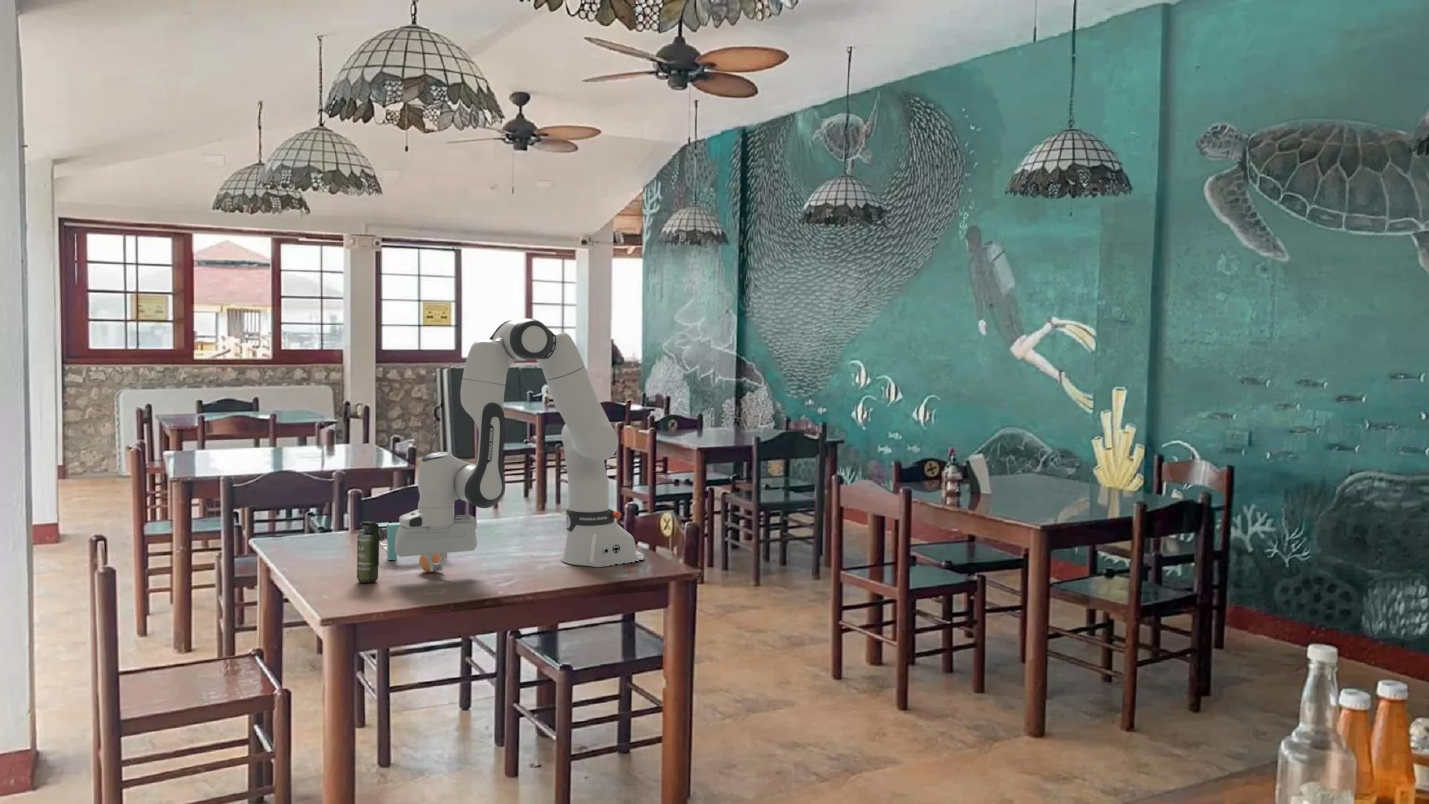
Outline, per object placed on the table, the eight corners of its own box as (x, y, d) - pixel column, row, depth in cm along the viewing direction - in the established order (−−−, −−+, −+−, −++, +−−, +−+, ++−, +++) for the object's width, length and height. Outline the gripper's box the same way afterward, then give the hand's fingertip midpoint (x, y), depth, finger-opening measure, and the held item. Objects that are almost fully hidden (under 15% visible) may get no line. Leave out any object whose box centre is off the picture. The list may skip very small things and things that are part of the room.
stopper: (427, 533, 331) (427, 525, 330) (429, 534, 329) (429, 526, 329) (359, 538, 321) (359, 529, 321) (360, 539, 320) (360, 530, 320)
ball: (440, 568, 286) (440, 545, 285) (445, 573, 280) (445, 550, 280) (416, 570, 283) (416, 547, 282) (421, 575, 278) (421, 552, 277)
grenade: (352, 582, 269) (352, 522, 268) (369, 578, 274) (369, 519, 273) (370, 586, 266) (370, 525, 265) (387, 581, 271) (387, 521, 270)
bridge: (387, 558, 295) (387, 523, 295) (442, 554, 302) (442, 519, 302) (389, 561, 293) (389, 525, 292) (445, 556, 300) (445, 521, 299)
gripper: (473, 511, 283) (473, 564, 284) (392, 517, 274) (393, 571, 275) (480, 515, 278) (480, 569, 279) (398, 521, 268) (398, 577, 269)
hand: (436, 570), depth 277 cm, fingers closed
